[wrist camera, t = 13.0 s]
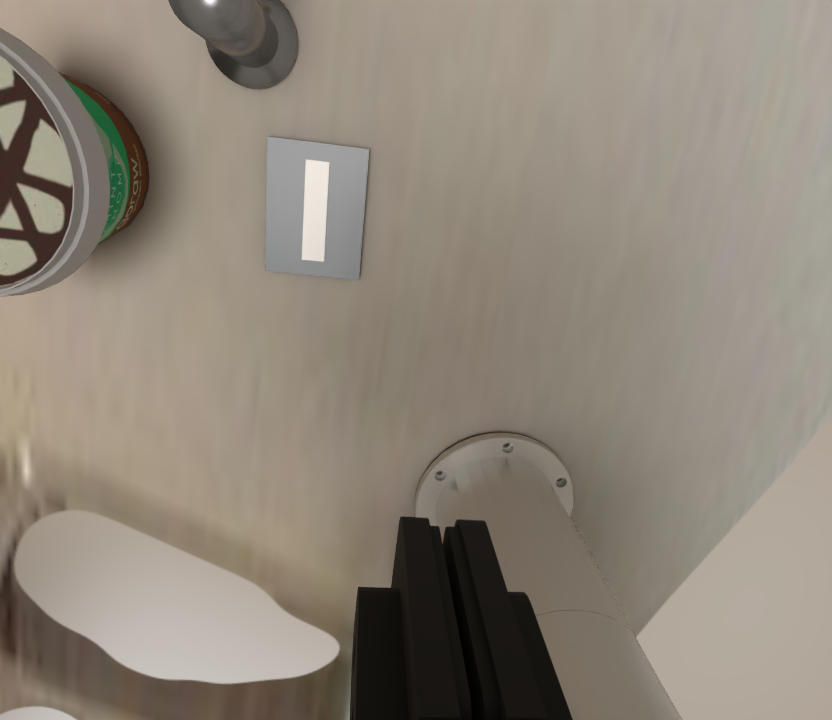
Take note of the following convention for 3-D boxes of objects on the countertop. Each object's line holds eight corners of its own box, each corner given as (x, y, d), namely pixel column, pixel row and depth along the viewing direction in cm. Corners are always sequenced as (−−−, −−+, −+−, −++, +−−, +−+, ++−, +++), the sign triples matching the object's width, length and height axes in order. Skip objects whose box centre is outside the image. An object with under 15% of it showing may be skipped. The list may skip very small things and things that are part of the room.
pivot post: (296, 94, 31) (267, 70, 23) (208, 82, 31) (143, 53, 22) (299, -5, 30) (269, -73, 21) (206, -20, 29) (135, -96, 20)
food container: (168, 278, 35) (94, 324, 25) (67, 264, 34) (-48, 306, 24) (170, 67, 30) (82, 29, 21) (54, 45, 30) (-91, -5, 20)
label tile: (359, 277, 36) (358, 280, 35) (267, 268, 35) (264, 271, 34) (369, 149, 33) (369, 149, 32) (269, 136, 32) (266, 136, 31)
